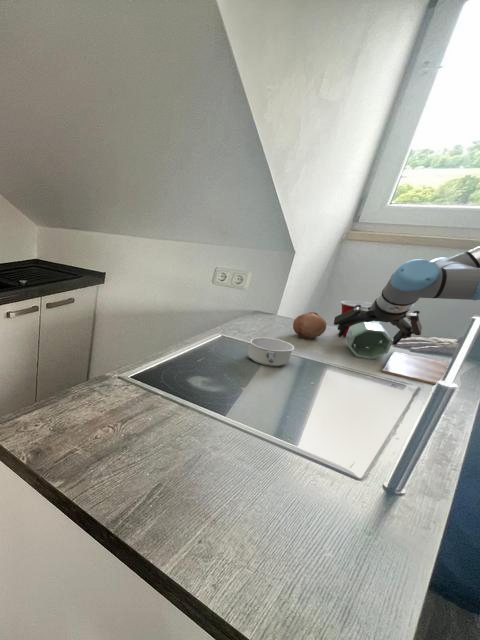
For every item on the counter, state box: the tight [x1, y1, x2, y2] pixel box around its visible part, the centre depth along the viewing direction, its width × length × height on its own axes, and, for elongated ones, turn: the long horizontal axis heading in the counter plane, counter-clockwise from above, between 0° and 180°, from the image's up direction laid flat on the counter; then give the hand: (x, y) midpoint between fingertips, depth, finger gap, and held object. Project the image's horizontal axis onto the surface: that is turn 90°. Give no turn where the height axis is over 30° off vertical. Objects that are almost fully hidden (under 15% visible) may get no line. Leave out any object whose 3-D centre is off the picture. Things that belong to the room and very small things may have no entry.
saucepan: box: [247, 337, 295, 367], centre depth 117 cm, size 12×20×6 cm, turn 147°
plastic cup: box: [340, 300, 373, 338], centre depth 136 cm, size 11×11×12 cm
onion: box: [292, 311, 327, 340], centre depth 137 cm, size 10×9×10 cm
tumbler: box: [345, 321, 393, 360], centre depth 123 cm, size 10×9×9 cm
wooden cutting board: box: [381, 351, 450, 386], centre depth 113 cm, size 20×12×1 cm, turn 130°
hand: (366, 337), depth 125 cm, fingers open, 12 cm apart
